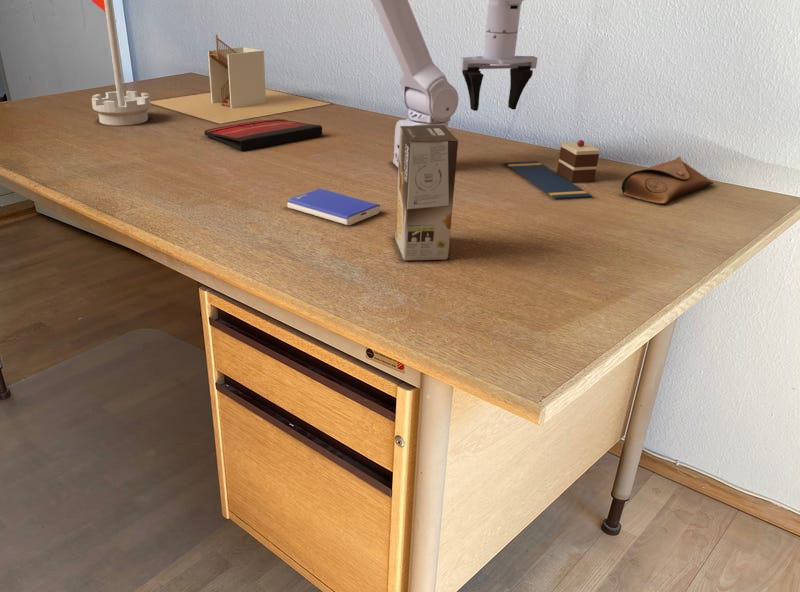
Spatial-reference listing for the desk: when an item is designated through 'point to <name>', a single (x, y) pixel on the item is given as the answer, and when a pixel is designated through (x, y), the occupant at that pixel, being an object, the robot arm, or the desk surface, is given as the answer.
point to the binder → (263, 133)
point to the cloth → (547, 180)
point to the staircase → (236, 89)
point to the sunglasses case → (664, 182)
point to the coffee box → (425, 191)
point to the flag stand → (119, 87)
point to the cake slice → (578, 161)
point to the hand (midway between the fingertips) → (493, 109)
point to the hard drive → (334, 206)
